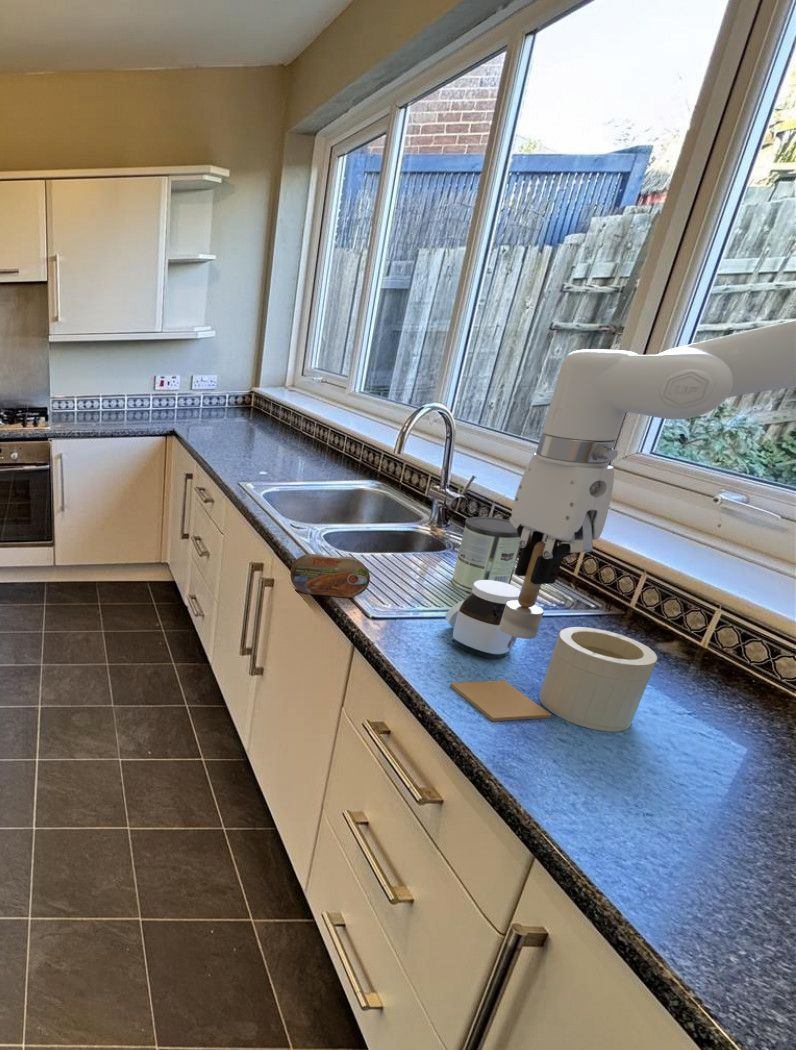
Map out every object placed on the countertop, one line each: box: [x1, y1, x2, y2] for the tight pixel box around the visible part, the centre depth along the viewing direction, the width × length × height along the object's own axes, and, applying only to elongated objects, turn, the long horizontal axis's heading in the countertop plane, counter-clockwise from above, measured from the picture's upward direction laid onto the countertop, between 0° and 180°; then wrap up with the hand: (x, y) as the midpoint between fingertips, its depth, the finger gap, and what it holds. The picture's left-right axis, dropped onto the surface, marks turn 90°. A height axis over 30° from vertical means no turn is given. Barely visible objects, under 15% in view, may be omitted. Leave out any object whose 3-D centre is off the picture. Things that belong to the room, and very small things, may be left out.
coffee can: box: [451, 516, 521, 594], centre depth 129 cm, size 10×10×14 cm
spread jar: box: [445, 580, 521, 659], centre depth 108 cm, size 12×11×12 cm
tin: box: [290, 553, 371, 599], centre depth 128 cm, size 15×3×8 cm, turn 73°
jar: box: [538, 626, 659, 733], centre depth 90 cm, size 11×11×11 cm
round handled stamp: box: [499, 540, 546, 640], centre depth 87 cm, size 4×4×14 cm
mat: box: [449, 679, 552, 722], centre depth 94 cm, size 9×9×1 cm
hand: (534, 578), depth 86 cm, fingers closed on round handled stamp, 2 cm apart
